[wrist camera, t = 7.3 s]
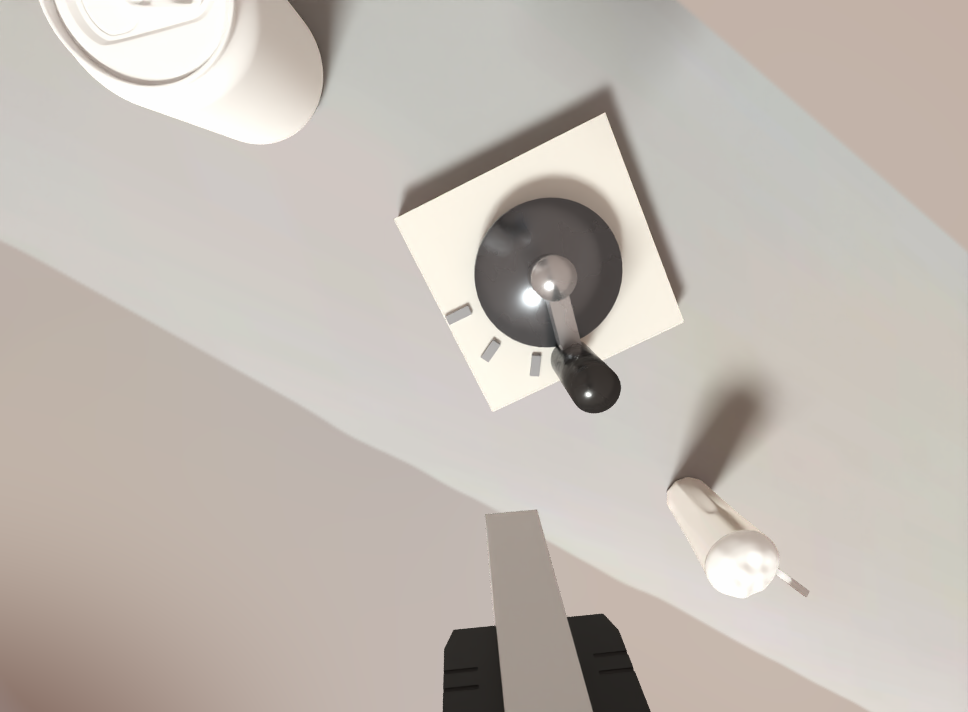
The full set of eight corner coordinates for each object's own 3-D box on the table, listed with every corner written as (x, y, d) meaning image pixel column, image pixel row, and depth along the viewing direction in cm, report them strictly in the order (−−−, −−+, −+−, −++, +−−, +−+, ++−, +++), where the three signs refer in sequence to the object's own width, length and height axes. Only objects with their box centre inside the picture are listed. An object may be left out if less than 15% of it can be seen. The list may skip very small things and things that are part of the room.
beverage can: (168, 4, 29) (-21, -135, 18) (309, -15, 29) (212, -167, 18) (208, 154, 31) (63, 117, 20) (339, 136, 31) (270, 88, 20)
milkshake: (712, 528, 40) (792, 626, 31) (649, 515, 40) (710, 611, 30) (733, 477, 39) (823, 562, 30) (668, 463, 39) (739, 545, 29)
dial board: (397, 219, 33) (393, 219, 31) (596, 118, 32) (606, 111, 30) (490, 401, 36) (492, 413, 34) (671, 316, 36) (685, 322, 33)
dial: (455, 223, 31) (455, 225, 24) (598, 179, 31) (640, 167, 24) (506, 391, 34) (519, 436, 27) (637, 352, 34) (684, 387, 27)
